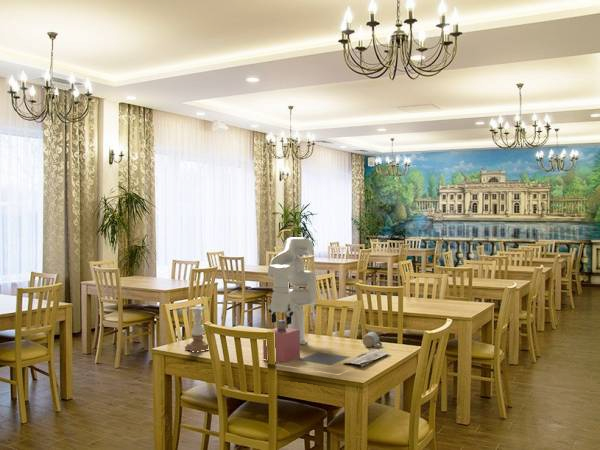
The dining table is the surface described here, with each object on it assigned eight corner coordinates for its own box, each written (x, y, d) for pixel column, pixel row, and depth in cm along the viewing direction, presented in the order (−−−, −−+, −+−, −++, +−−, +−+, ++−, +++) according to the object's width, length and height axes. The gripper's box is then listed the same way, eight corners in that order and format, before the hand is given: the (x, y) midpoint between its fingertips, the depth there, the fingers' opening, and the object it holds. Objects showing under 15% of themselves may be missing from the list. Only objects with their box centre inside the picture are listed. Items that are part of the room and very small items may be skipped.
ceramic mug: (361, 347, 333) (361, 333, 333) (366, 344, 340) (366, 331, 340) (379, 349, 328) (379, 335, 328) (384, 346, 335) (384, 332, 335)
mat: (297, 361, 302) (297, 359, 302) (318, 353, 318) (318, 352, 318) (330, 366, 290) (330, 364, 290) (350, 358, 307) (350, 356, 307)
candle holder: (194, 353, 322) (194, 309, 322) (184, 349, 330) (184, 307, 330) (211, 350, 329) (211, 307, 329) (201, 347, 338) (200, 305, 337)
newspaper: (369, 352, 320) (369, 346, 320) (391, 355, 314) (391, 348, 314) (341, 367, 290) (341, 360, 290) (364, 370, 284) (364, 363, 284)
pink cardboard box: (263, 360, 304) (262, 321, 304) (279, 355, 316) (279, 317, 315) (284, 363, 296) (283, 324, 296) (300, 358, 308) (299, 319, 308)
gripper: (263, 290, 307) (263, 322, 307) (290, 292, 298) (290, 325, 298) (272, 288, 313) (272, 320, 314) (298, 290, 304) (299, 323, 304)
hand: (281, 323), depth 306 cm, fingers open, 9 cm apart
